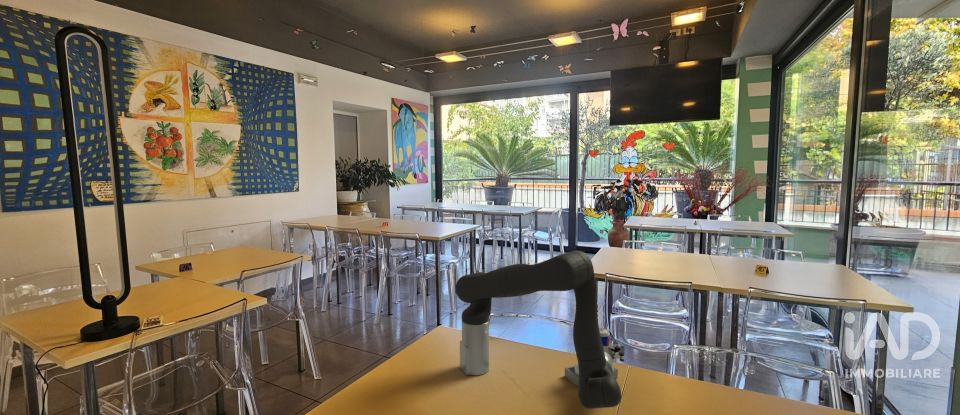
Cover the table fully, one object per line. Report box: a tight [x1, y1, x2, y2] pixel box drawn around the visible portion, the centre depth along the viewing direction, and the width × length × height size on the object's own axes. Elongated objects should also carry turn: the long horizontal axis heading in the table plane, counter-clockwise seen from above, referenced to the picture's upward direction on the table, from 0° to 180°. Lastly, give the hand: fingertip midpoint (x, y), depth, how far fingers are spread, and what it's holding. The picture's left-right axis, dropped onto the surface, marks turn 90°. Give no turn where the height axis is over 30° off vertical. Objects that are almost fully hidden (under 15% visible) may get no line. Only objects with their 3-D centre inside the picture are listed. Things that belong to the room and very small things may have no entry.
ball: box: [574, 362, 579, 377], centre depth 134 cm, size 5×5×4 cm
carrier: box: [564, 365, 619, 387], centre depth 135 cm, size 15×8×4 cm, turn 113°
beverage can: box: [599, 327, 611, 346], centre depth 136 cm, size 5×5×15 cm
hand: (600, 341), depth 136 cm, fingers open, 8 cm apart
